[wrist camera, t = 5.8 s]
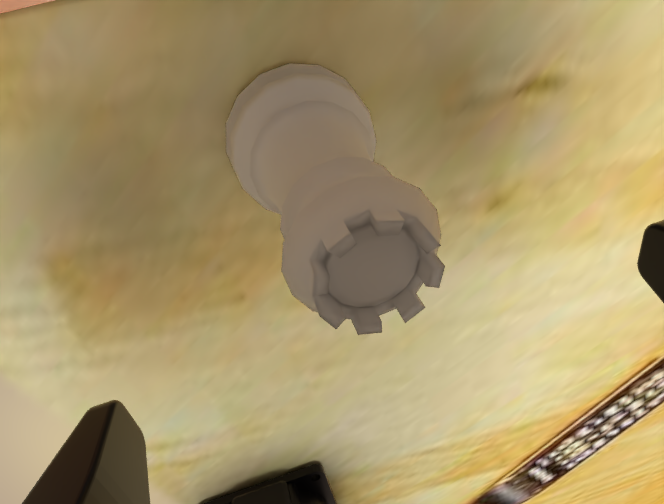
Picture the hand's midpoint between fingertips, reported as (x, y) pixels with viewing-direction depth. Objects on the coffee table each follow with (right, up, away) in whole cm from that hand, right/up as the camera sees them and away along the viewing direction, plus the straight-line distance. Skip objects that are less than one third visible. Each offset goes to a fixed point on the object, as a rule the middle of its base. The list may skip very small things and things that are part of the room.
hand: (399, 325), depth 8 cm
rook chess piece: (-2, +5, +7) cm, 9 cm away
